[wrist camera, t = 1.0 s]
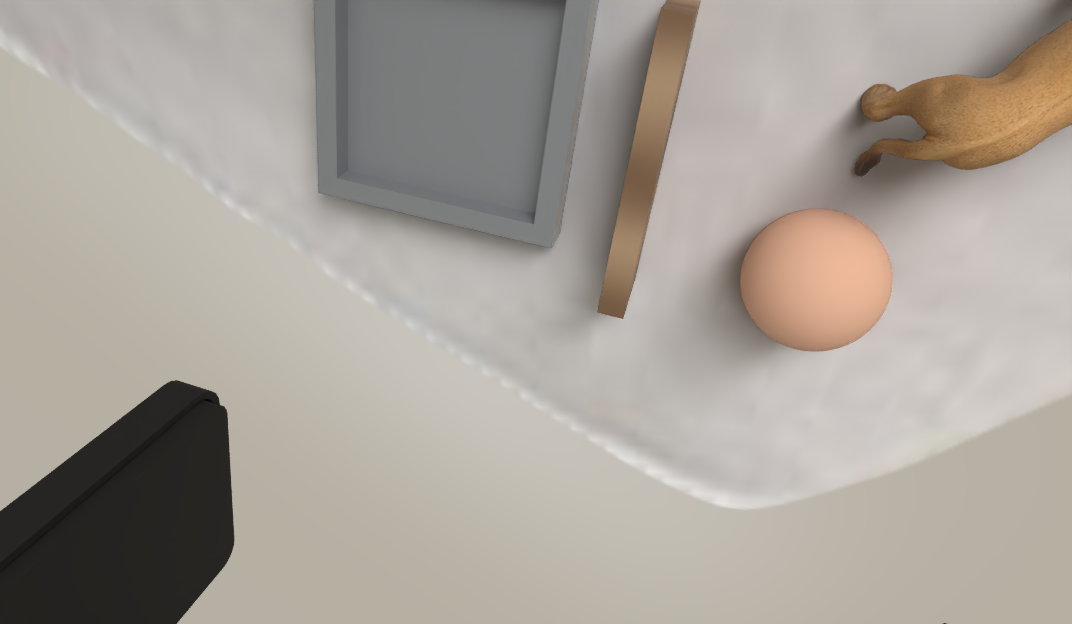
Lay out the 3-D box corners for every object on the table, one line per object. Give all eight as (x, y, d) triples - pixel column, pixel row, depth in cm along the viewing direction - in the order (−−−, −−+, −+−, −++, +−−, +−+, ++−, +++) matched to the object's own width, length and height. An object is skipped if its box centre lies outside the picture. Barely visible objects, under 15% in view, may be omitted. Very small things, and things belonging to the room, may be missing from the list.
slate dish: (333, -80, 32) (312, -78, 30) (603, -31, 30) (595, -27, 29) (335, 180, 38) (318, 193, 37) (559, 233, 36) (551, 248, 35)
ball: (762, 175, 33) (764, 228, 28) (902, 205, 32) (931, 265, 27) (726, 291, 36) (721, 358, 31) (852, 321, 35) (869, 395, 30)
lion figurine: (1198, -196, 24) (1408, -235, 16) (1292, -71, 24) (1534, -52, 17) (815, 128, 31) (835, 205, 24) (897, 214, 32) (941, 315, 24)
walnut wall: (671, -5, 30) (660, 9, 27) (700, 0, 30) (693, 15, 26) (611, 273, 37) (596, 312, 33) (635, 279, 37) (623, 318, 33)
